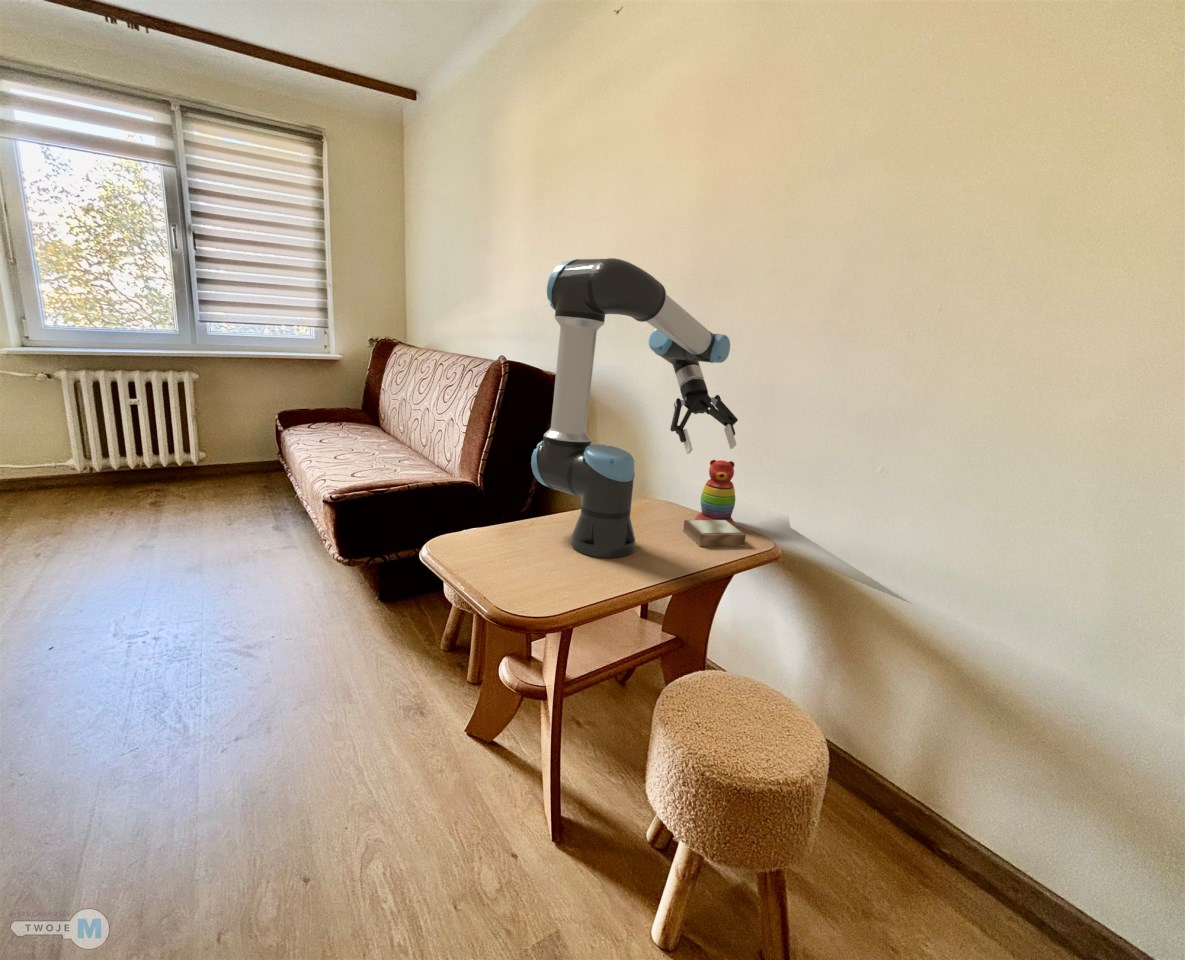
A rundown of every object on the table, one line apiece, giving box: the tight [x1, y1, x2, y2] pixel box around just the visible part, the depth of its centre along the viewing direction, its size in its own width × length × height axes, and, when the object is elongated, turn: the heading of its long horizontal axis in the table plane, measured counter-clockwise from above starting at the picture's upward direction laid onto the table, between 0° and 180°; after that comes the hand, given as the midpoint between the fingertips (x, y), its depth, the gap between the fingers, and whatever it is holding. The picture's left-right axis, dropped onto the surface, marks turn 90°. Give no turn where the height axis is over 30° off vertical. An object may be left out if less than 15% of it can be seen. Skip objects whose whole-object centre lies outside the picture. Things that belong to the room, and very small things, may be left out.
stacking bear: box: [694, 459, 736, 527], centre depth 151 cm, size 11×10×18 cm
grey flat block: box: [682, 519, 746, 548], centre depth 140 cm, size 12×11×3 cm
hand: (711, 449), depth 154 cm, fingers open, 13 cm apart
